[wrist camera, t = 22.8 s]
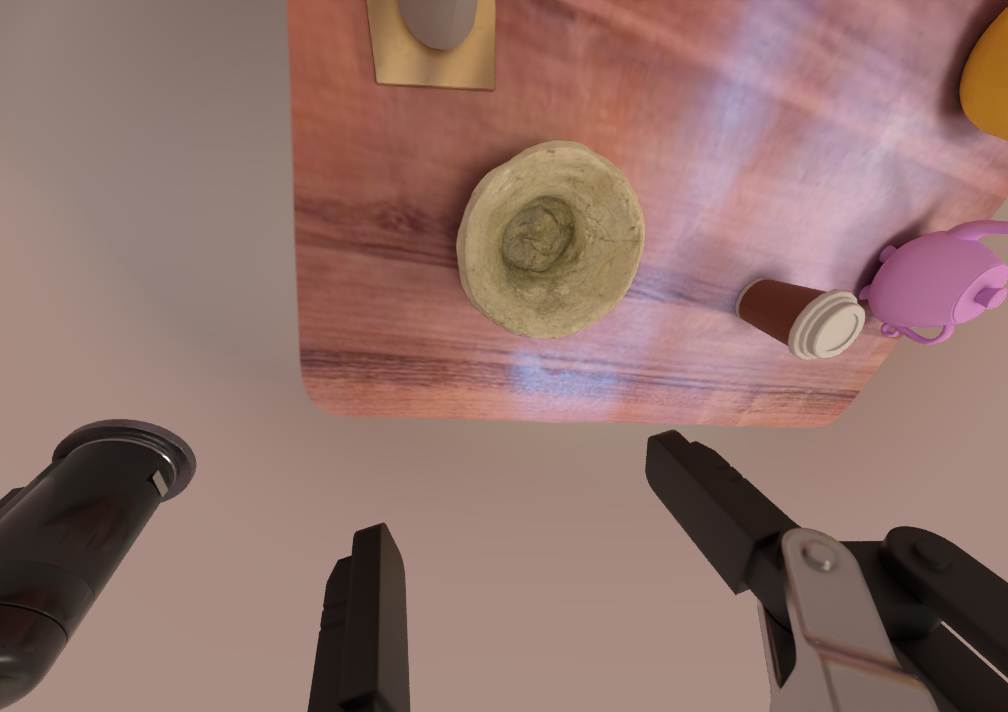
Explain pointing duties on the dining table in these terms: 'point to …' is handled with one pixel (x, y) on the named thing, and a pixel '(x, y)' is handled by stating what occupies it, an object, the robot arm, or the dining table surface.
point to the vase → (988, 80)
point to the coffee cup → (802, 316)
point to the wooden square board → (431, 52)
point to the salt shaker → (439, 20)
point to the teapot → (938, 281)
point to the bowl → (550, 240)
